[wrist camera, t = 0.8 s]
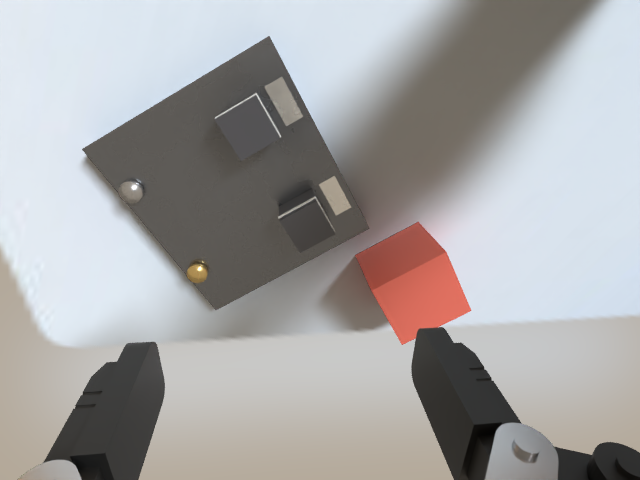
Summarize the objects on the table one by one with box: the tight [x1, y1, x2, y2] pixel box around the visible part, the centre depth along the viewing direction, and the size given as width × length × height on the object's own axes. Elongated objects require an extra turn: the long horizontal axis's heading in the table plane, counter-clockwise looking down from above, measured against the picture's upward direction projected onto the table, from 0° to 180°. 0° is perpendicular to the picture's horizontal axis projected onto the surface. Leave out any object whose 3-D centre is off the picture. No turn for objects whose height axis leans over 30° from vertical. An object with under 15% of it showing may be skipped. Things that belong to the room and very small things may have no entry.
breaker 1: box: [215, 92, 281, 161], centre depth 26 cm, size 3×3×3 cm
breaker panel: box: [82, 36, 369, 310], centre depth 30 cm, size 15×16×3 cm
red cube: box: [355, 222, 471, 345], centre depth 34 cm, size 6×6×6 cm
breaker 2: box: [278, 188, 335, 253], centre depth 30 cm, size 3×3×3 cm
